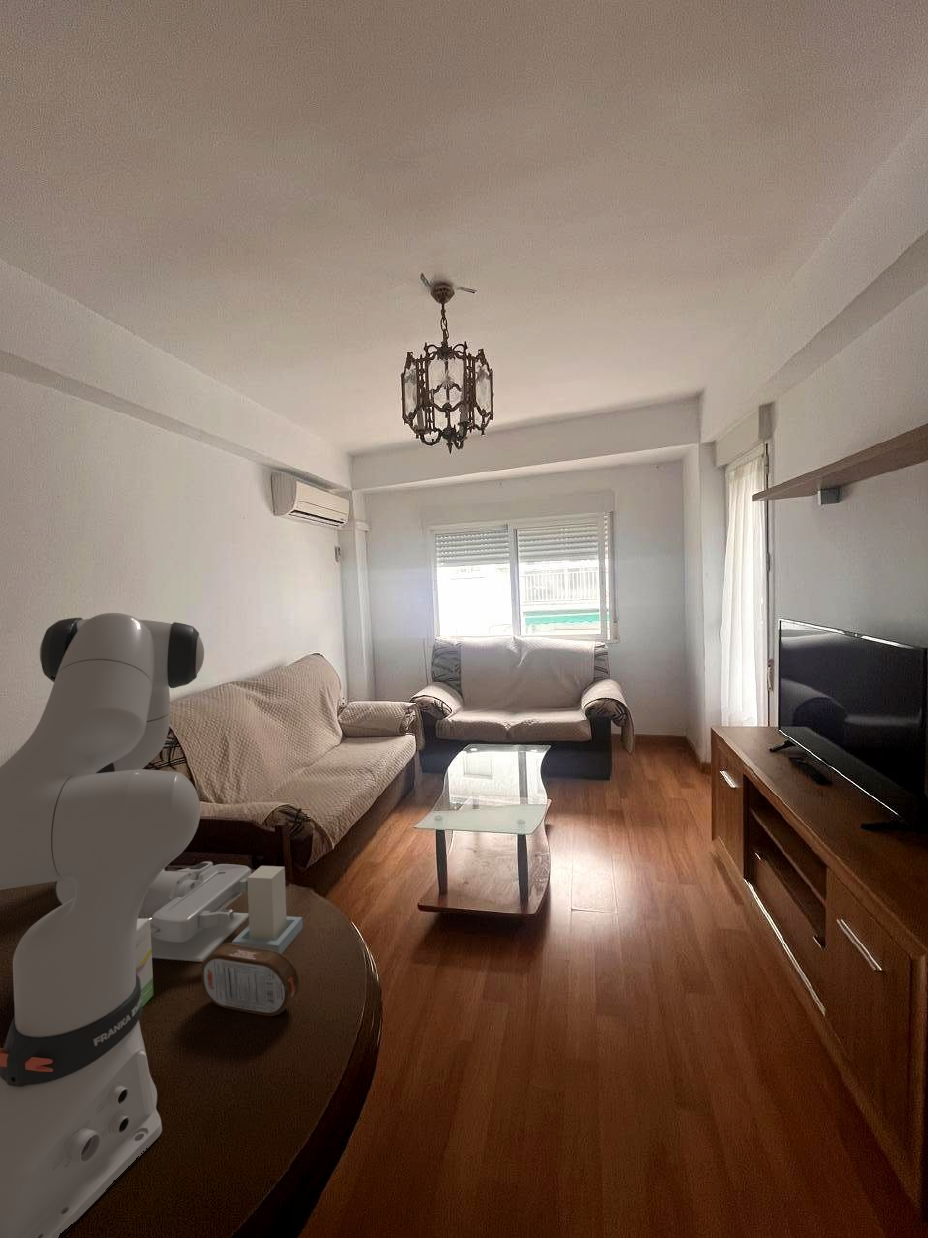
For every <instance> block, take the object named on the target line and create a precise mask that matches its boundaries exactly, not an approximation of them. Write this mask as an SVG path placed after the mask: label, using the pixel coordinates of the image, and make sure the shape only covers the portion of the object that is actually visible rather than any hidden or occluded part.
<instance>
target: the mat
mask: <svg viewBox="0 0 928 1238" xmlns="http://www.w3.org/2000/svg"><path fill="white" fill-rule="evenodd" d="M233 916H234V918H233V920H232V921H231V922H230V923H228V924H227V925H225V924H219V925H215V926H212V927H208V928H202V929H201V930H200V931H198V932H197V933H196V934H195V935H194V936H193V937H192V938H191V939H189V940H188V941H185V942H181V943H175V942H168V941H163V940H159V939H156V938H154V937H153V936H152V934H151V951H152V959H162V960H173V961H174V960H175V961H185V962H186V961H188V962H198V963H199V962H201V963H202V962H204V961H205V960H206V959H207V958H208V957H209V956H210V955H211V954H212V953H213V952H214V950H215V949H216V948H217V947H219V946H220V945H222V943H223V942H224V941H225V940H226V939H227V938H228V937H229V936H230V935H232V934H233V932H235V931H236V930H237V929H238V928H239V927H240V926H241V925H242V924H243V923H244V922H245V921H246V920H247V919H249V912H248V913H247V912H233Z"/></svg>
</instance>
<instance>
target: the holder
mask: <svg viewBox="0 0 928 1238" xmlns="http://www.w3.org/2000/svg"><path fill="white" fill-rule="evenodd" d="M286 916H287V929H286V930H285V932H284V933H283V934H282V935H281V936H280V937H279V938H278V940H277V941H269V940H255V939H250V934H249V924H248V925H247V926H246V927H245V928H244V929H243V930H242V931H241V932H240V933H239V934H238V935H237V936H236V937H235V938H234V939H233V940H232V941H231V944H238V945H243V946H249V947H256V948H262V949H268V950H274V951H277V952H279V953H281V954H283V953H284V952H285V951H286V949H287V948H288V947H289V945H291V943H292V942H293V941H294V939H295V938H297V936H298V935H299V934H300V932H301V931H302V930H303V929H304V925H303V916H291V915H290V916H289V915H286Z"/></svg>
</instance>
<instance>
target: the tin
mask: <svg viewBox="0 0 928 1238" xmlns="http://www.w3.org/2000/svg"><path fill="white" fill-rule="evenodd" d="M200 969H201V971H200V977H201V984H202V987H203V991H204V992H205V994H206V996H207V997H208V998H209V1000H211V1002H213V1003H214V1004H215V1005H217V1006H219V1007H221V1008H225V1009H230V1010H234V1011H239V1012H244V1013H251V1014H255V1015H259V1016H264V1017H265V1016H266V1017H274V1016H278V1015H279V1014H281V1013H282V1012H284V1011H285V1010H286V1008H288V1006H289V1005H290V1004H291V1002H293V1000H294V999H296V997H297V996H298V995H297V994H298V993H299V989H300V979H299V974H298V971H297V969H296V968H295V966H294V964H293V963H292V961H291V960H290V959H289V958H288V957H287V956H286V955H284V954H283V953H282V954H281V953H279V952H277V951H274V950H268V949H262V948H256V947H249V946H243V945H238V944H232V942H229V943H226V942H225V943H224V944H222V943H221V944H220V945H219V946H218V947H217V948H216V949H215V950H214V951H213V952H212V953H211V954H210V955H209V956H208V957H207V958H205V959H204V960H203V963H202V966H201V968H200Z"/></svg>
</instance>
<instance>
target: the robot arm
mask: <svg viewBox="0 0 928 1238" xmlns="http://www.w3.org/2000/svg"><path fill="white" fill-rule="evenodd" d="M203 644H204V643H203V641H202V638H201V637H200V633H199V631H198V630H197V629H196V628H195V627H194V626H192V625H189V624H186V623H181V622H176V621H173V623H168V622H165V621H164V622H163V621H157V620H155V621H154V620H147V619H138V618H136V617H135V616H132V615H129V614H125V613H122V612H121V613H119V612H107V613H101V614H98V615H94V616H92V617H90V618H85V619H84V618H82V617H73V618H72V617H71V618H70V617H69V618H64V619H61V620H57V621H56V622H54V623H53V624H52V625H50V626H49V627H48V628H47V629H46V631H45V633H44V635H43V638H42V641H41V642H40V647H39V661H40V664H41V669H42V672H43V674H44V676H46V678H47V679H49V680H50V681H51V682H52V683H53V685H52V688H51V691H50V693H49V697H48V699H47V702H46V704H45V707H44V710H43V711H42V715H41V717H40V719H39V722H38V724H37V726H36V727H35V730H34V731H33V732H32V733H31V735H30V736H29V737H28V739H27V740H26V741H25V742H24V744H23V745H22V746H21V747H20V748H19V749H18V750H16V752H15V753H14V754H13V755H12V756H11V757H10V758H8V760H7V761H5V762H4V763H3V764H2V765H1V766H0V890H6V889H13V888H14V889H15V888H19V887H20V888H22V887H27V886H33V885H34V886H35V885H39V884H40V885H41V884H46V883H47V884H48V883H52V882H53V883H54V885H53V886H54V895H55V897H56V899H57V901H58V903H59V904H60V906H58V907H56V908H55V909H53V910H51V911H50V912H49V913H47V914H46V915H44V916H43V917H41V918H40V919H39V920H37V921H36V922H35V923H34V924H32V925H31V926H30V927H29V928H28V930H26V932H25V933H24V934H23V936H22V937H21V939H20V940H19V942H18V944H17V946H16V949H15V951H14V954H13V957H12V976H13V977H12V978H13V979H12V980H13V981H12V982H13V1002H14V1004H13V1005H14V1006H13V1008H14V1017H13V1019H12V1021H11V1023H10V1026H9V1029H8V1032H7V1036H6V1038H5V1042H4V1045H3V1047H0V1238H58V1237H59V1235H60V1233H62V1232H63V1231H64V1230H65V1229H67V1228H68V1227H69V1226H70V1225H71V1224H73V1223H74V1222H75V1223H76V1222H77V1221H78V1220H79V1219H80V1218H81V1216H82V1215H84V1213H85V1212H87V1210H89V1208H90V1207H92V1205H94V1203H95V1202H96V1201H98V1200H99V1198H100V1197H101V1196H102V1195H103V1194H104V1193H105V1192H106V1191H107V1190H108V1189H109V1188H110V1187H111V1186H112V1185H113V1184H114V1183H113V1181H114V1180H116V1179H117V1178H118V1177H119V1176H120V1175H121V1174H122V1173H123V1172H124V1171H125V1170H126V1169H127V1168H128V1166H130V1165H131V1164H132V1163H133V1162H134V1161H135V1160H136V1158H137V1157H138V1156H139V1157H141V1155H142V1154H144V1152H145V1151H147V1149H148V1148H149V1147H151V1146H152V1144H153V1143H154V1142H155V1141H157V1139H158V1138H159V1137H160V1135H161V1134H162V1132H163V1126H162V1124H163V1123H162V1119H161V1115H160V1114H159V1111H158V1110H157V1103H158V1092H157V1088H156V1084H155V1082H154V1080H153V1078H152V1076H151V1074H150V1073H151V1072H150V1068H149V1062H148V1056H147V1052H146V1047H145V1043H144V1042H145V1041H144V1039H143V1035H142V1030H141V1025H140V1018H141V1015H142V1012H143V1007H142V993H141V985H140V978H139V976H138V975H137V974H136V930H137V920H138V919H147V918H150V930H151V934H152V936H153V937H154V938H156V939H159V940H163V941H168V942H175V943H181V942H185V941H188V940H189V939H191V938H192V937H193V936H194V935H195V934H196V933H197V932H198V931H200V930H201V929H202V928H208V927H212V926H215V925H219V924H225V925H227V924H228V923H230V922H231V921H232V920H233V918H234V916H233V913H234V911H233V910H232V909H226V908H228V907H229V905H231V904H232V903H233V902H234V901H236V899H238V898H239V897H240V896H241V895H242V894H246V893H248V881H247V877H249V876H250V875H251V874H252V873H253V872H252V869H251V868H250V867H249V866H247V865H241V864H233V863H232V864H231V863H219V864H215V865H214V864H213V862H212V861H202V862H200V863H197V864H195V865H192V866H189V867H186V868H182V869H178V870H176V871H171V870H170V871H169V870H166V867H167V866H168V865H170V864H171V862H173V861H174V860H175V859H176V858H177V857H179V856H180V855H181V854H182V853H183V852H184V851H185V849H187V847H188V846H189V845H190V843H191V841H192V840H193V839H194V836H195V834H196V832H197V829H198V828H199V823H200V818H201V800H200V797H199V794H198V792H197V789H196V788H195V786H194V785H193V783H192V782H191V780H190V779H189V778H188V777H187V776H186V775H185V774H183V773H182V772H180V771H170V770H169V771H168V770H160V769H159V770H158V769H144V768H145V767H146V766H147V765H148V764H149V763H151V762H152V761H153V760H154V759H155V758H156V757H157V756H158V755H159V753H160V752H161V751H162V750H163V748H164V747H165V745H166V741H167V738H168V734H169V731H170V723H171V722H170V719H171V717H170V716H171V715H170V714H171V711H170V710H171V697H170V689H176V688H179V687H183V686H187V685H190V684H191V683H192V682H193V681H194V680H196V679H197V677H198V673H199V672H200V671H201V669H202V666H203V664H204V659H205V647H204V645H203ZM146 1148H147V1149H146ZM143 1151H144V1152H143ZM141 1153H142V1154H141ZM139 1157H138V1158H139ZM136 1161H137V1160H136ZM136 1161H135V1162H136ZM135 1162H134V1163H135ZM134 1163H133V1164H134ZM133 1164H132V1165H133ZM132 1165H131V1166H132ZM131 1166H130V1167H131ZM128 1169H129V1168H128ZM128 1169H127V1170H128ZM127 1170H126V1171H127ZM126 1171H125V1172H126ZM125 1172H124V1173H125ZM124 1173H123V1174H124ZM123 1174H122V1175H123ZM122 1175H121V1176H122ZM121 1176H120V1177H121ZM120 1177H119V1178H120ZM119 1178H118V1179H119ZM118 1179H117V1180H118ZM117 1180H116V1181H117ZM112 1183H113V1184H112ZM111 1184H112V1185H111ZM110 1185H111V1186H110ZM109 1186H110V1187H109ZM108 1187H109V1188H108ZM107 1188H108V1189H107ZM106 1189H107V1190H106ZM75 1223H74V1224H75ZM74 1224H73V1225H74Z"/></svg>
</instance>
